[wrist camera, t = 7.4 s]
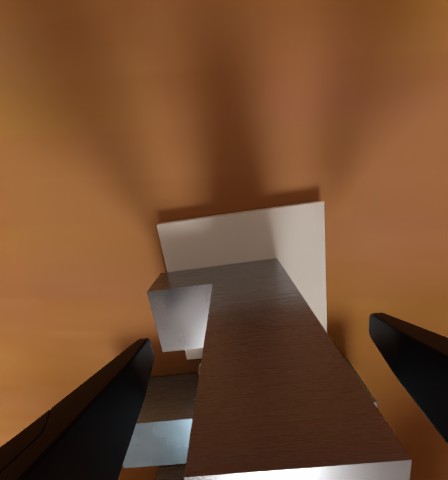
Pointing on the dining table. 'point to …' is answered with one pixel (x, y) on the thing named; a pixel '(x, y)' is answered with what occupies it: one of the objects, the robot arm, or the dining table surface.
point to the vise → (170, 424)
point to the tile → (255, 246)
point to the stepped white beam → (269, 382)
